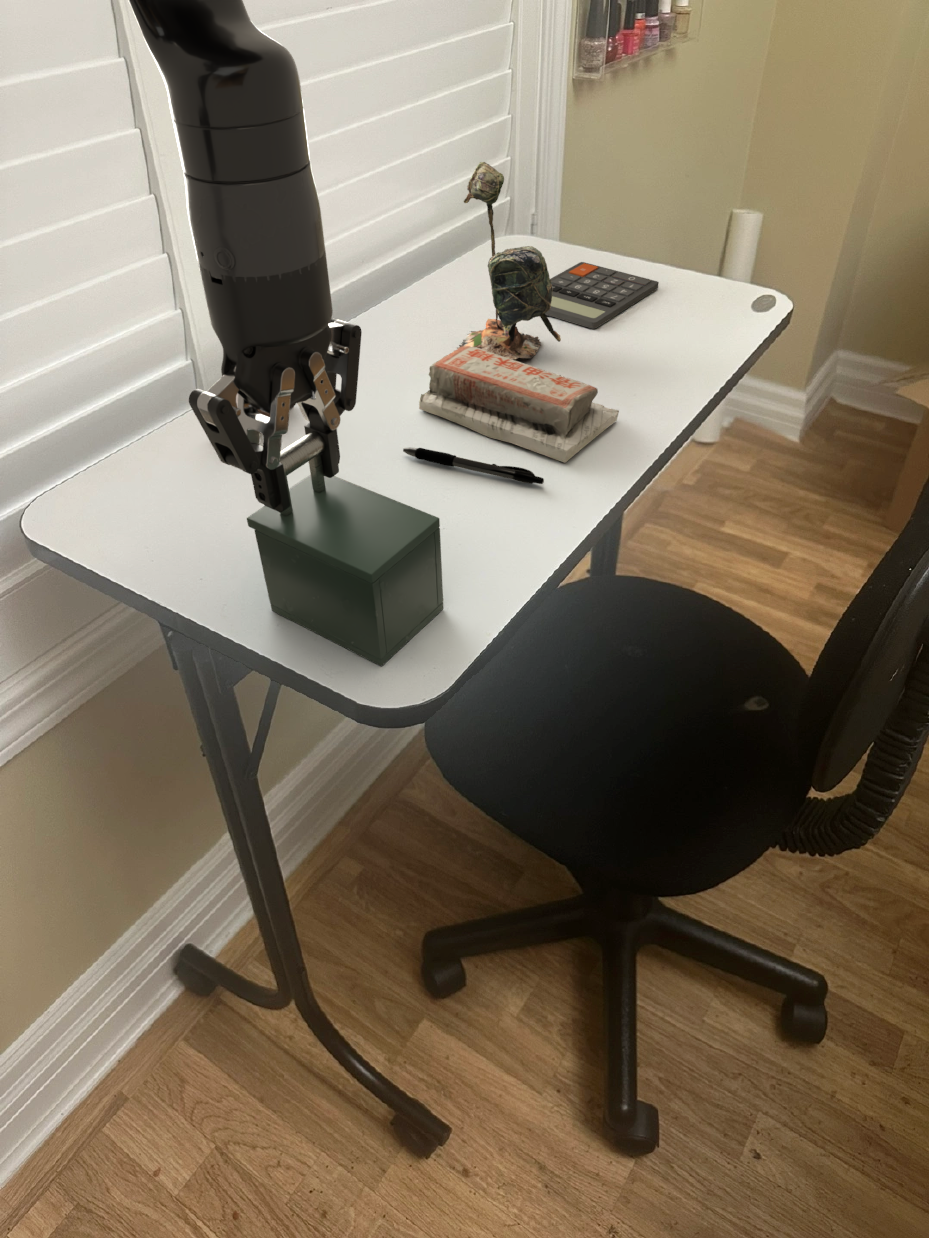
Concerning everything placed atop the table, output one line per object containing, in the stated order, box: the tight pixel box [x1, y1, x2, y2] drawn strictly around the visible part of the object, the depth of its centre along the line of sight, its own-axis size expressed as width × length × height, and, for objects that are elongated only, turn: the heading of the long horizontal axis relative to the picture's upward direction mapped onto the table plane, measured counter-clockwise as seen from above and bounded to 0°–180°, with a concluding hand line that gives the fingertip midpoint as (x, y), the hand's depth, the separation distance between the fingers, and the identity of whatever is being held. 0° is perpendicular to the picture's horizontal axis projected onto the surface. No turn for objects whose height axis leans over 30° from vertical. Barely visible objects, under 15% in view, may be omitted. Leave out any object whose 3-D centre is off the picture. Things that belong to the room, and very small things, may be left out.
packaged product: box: [418, 346, 620, 464], centre depth 89 cm, size 18×5×10 cm
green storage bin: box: [254, 527, 444, 667], centre depth 67 cm, size 11×8×8 cm
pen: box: [402, 446, 545, 485], centre depth 83 cm, size 14×2×1 cm, turn 66°
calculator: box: [545, 261, 660, 330], centre depth 112 cm, size 12×1×15 cm
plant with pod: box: [456, 161, 562, 360], centre depth 95 cm, size 8×11×20 cm
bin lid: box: [246, 432, 441, 583], centre depth 63 cm, size 12×8×5 cm, turn 55°
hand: (300, 488), depth 65 cm, fingers closed on bin lid, 4 cm apart
